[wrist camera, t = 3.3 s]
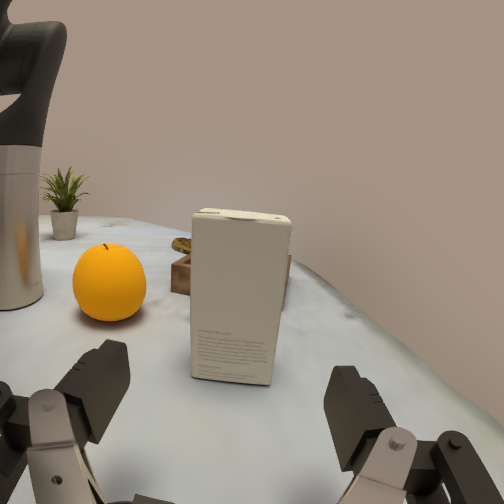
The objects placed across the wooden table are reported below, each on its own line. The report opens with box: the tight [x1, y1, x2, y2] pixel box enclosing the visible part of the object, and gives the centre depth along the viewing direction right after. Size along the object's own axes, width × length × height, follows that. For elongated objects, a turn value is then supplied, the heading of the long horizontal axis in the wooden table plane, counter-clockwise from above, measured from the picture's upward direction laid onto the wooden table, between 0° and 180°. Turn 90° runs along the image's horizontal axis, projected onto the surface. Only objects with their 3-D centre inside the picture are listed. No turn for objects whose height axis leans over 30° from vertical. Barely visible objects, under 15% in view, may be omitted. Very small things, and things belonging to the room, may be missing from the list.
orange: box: [73, 244, 146, 321], centre depth 27 cm, size 8×8×8 cm
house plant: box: [39, 167, 88, 240], centre depth 55 cm, size 14×14×16 cm
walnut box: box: [171, 253, 291, 308], centre depth 41 cm, size 14×14×4 cm
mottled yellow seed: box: [172, 238, 192, 254], centre depth 58 cm, size 9×5×15 cm
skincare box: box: [190, 208, 292, 385], centre depth 20 cm, size 6×4×12 cm
